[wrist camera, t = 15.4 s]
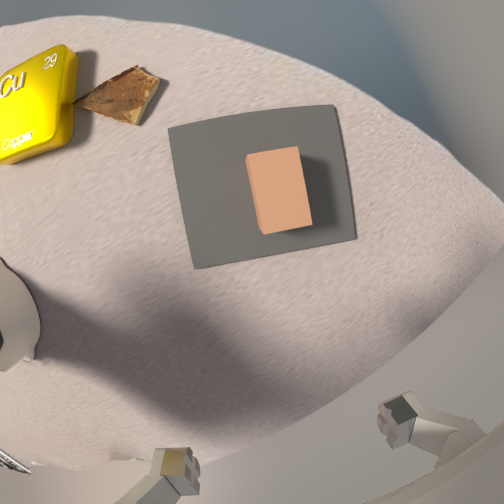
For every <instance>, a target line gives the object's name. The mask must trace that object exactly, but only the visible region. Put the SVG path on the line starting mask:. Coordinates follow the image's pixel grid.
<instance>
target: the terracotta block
mask: <svg viewBox="0 0 504 504" xmlns="http://www.w3.org/2000/svg"><path fill="white" fill-rule="evenodd" d="M245 161H246V166H247V171H248V176H249V180H250V185H251V190H252V195H253V200H254V205H255V210H256V215H257V220H258V225H259V229H260V230H261V231H262V233H263V234H264V235H265V234H270V233H274V232H279V231H284V230H289V229H294V228H299V227H304V226H308V225H312V219H311V213H310V208H309V202H308V196H307V191H306V186H305V181H304V175H303V170H302V165H301V160H300V156H299V151H298V146H295V147H288V148H282V149H276V150H270V151H264V152H258V153H253V154H248V155H247V157H246V160H245Z"/></svg>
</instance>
